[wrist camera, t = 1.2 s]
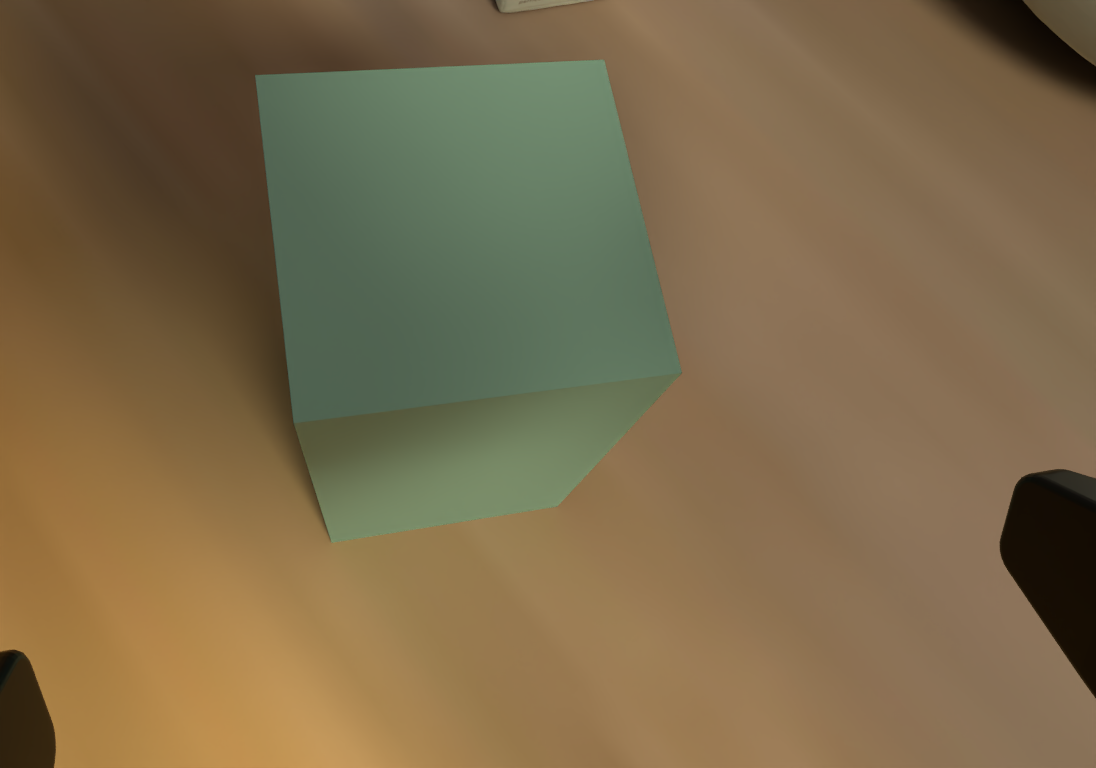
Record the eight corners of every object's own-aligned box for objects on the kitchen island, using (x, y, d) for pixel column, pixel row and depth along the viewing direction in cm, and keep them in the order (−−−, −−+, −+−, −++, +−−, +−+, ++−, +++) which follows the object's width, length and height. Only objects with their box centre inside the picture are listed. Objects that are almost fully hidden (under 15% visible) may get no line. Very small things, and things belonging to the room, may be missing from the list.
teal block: (556, 506, 20) (681, 372, 12) (331, 542, 19) (294, 423, 11) (517, 304, 22) (604, 59, 13) (306, 327, 21) (255, 75, 12)
